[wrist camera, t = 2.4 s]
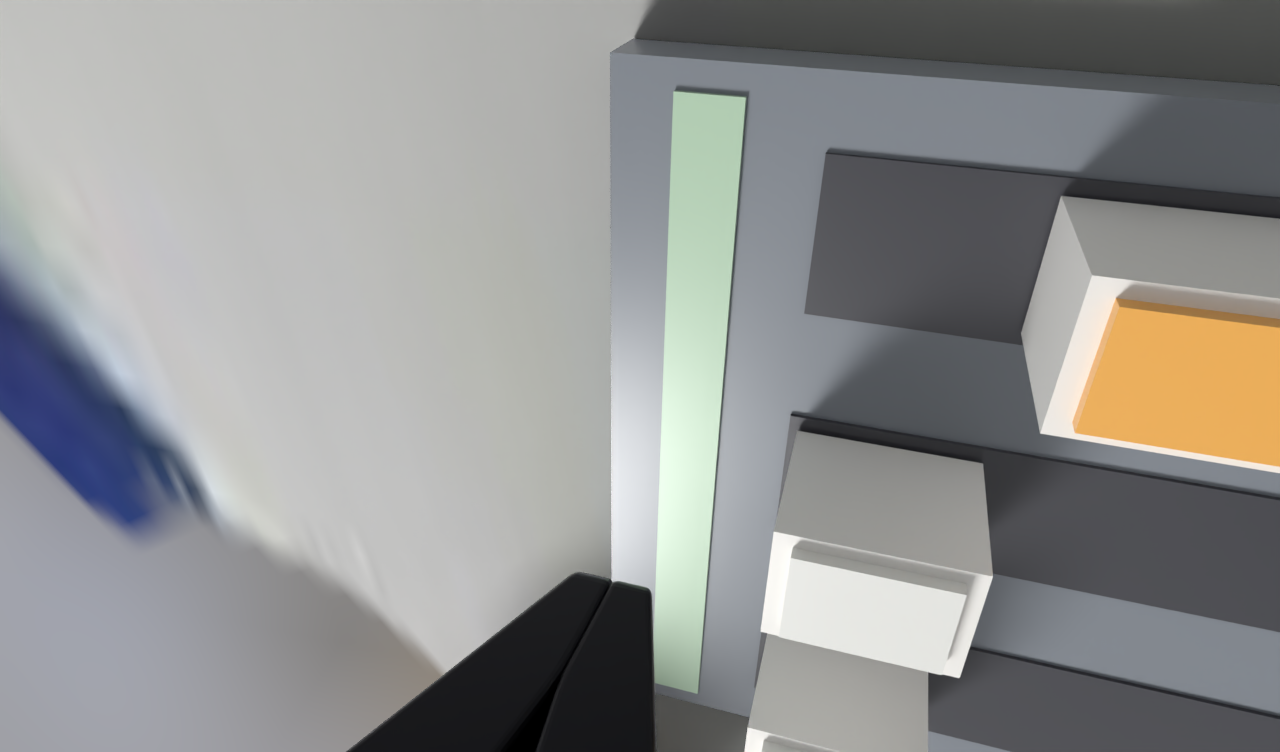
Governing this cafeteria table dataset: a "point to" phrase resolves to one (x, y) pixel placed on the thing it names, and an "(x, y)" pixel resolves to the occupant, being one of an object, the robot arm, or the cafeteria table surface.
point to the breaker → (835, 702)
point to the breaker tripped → (1159, 331)
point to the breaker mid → (880, 553)
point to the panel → (925, 374)
